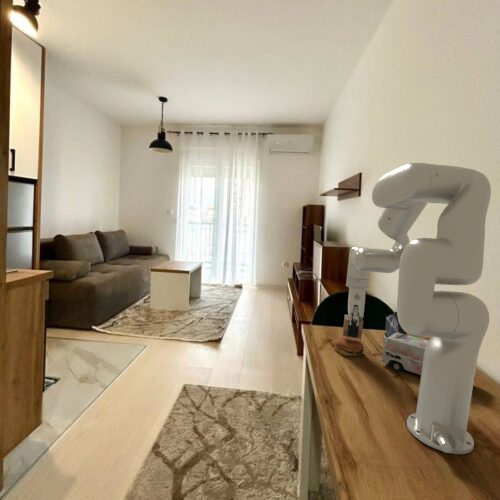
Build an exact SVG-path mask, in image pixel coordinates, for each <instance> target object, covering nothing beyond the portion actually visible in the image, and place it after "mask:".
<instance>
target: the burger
mask: <svg viewBox="0 0 500 500" xmlns="http://www.w3.org/2000/svg"><path fill="white" fill-rule="evenodd" d="M364 348H365V346H364V345H363V343H362V341H361V339H357V338H351V337H345V336H342V337H339V338H337V339H336V340H335V343H334V347H333V349H334V351H336V353H338V354H339V355H342V356H345V357H358V356H361V355H362V354H363V353H364V352H365V349H364Z"/></svg>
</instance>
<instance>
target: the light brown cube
mask: <svg viewBox="0 0 500 500" xmlns="http://www.w3.org/2000/svg"><path fill="white" fill-rule="evenodd" d="M363 318H364V317H363ZM363 318H361V317H360V316H359V321H358V326H359V327H358V336H357V338H356V337H350V336H348V326H349V324H350V316H349V315H348V314H344V319H343V327H342V328H343V329H342V337H349V338H354V339H358V340H362V336H363V328H364V327H363V326H364V319H363ZM352 319H353V318H352ZM351 322H352V321H351Z"/></svg>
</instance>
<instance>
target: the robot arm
mask: <svg viewBox="0 0 500 500" xmlns="http://www.w3.org/2000/svg"><path fill="white" fill-rule="evenodd" d="M371 194H372V195H371V199H372V203H373V204H374V205H375V206H376V207H378V208H380V209H381V208H384V209H383V212H382V213H381V216H379V218H378V220H377V221H378V222H377V226H378V228H379V230H380V231H381V232H382V234H384V235H385V236H386V237H388V238H390V239H391V240H394V241H395V242H394V243H393V245H392V247H391V248H390V249H386V248H385V249H384V248H369V247H361V246H353V247H351V248H350V250H349V255H348V264H347V273H346V283H345V286H346V287H347V288H348V298H347V311H348V312H347V313H348V314H347V315H349V316H350V324H349V326H348V336H350V337H349V338H351V337H356V338H355V339H357V336H358V327H359V326H358V321H359V317H361V318H364V313H365V303H366V290H369V288H370V279H371V274H372V273H382V274H392V273H394V272H396V271H397V270H398V281H397V282H398V284H397V298H396V299H397V301H396V312H397V316H398V321H399V324H400V326H401V328H402V329H403V330H404V331H405V332H406V333H407V335H409V336H413V337H419V338H421V337H424V338H430V339H429V340H428V341H429V342H428V344H427V346H426V348H425V352H424V358H423V364H422V372H421V375H420V381H419V388H418V396H417V402H416V403H417V404H416V410H415V412H414V413H412V414H411V413H410V415H408V417H407V418H406V427H407V429H408V430H409V432H410V434H412V436H414V438H417V440H419V441H420V442H421V443H423V444H425V445H427V446H429V447H430V448H433V449H435V450H438V451H440V452H443V453H446V454H453V455H465V454H469V453H471V452H472V451H473V450H474V446H475V440H474V439H473V437H472V435H471V434H470V433H469V432H468V431H467V429H468V423H469V422H468V421H469V417H470V416H469V415H470V409H471V408H470V407H471V402H472V396H473V389H474V388H473V387H474V382H475V381H474V376H475V377H476V370H477V363H478V359H479V358H478V357H479V353H480V349H481V346H482V343H483V341H484V338H485V336H486V333H487V332H488V328H489V326H490V325H489V324H490V313H489V309H488V307H487V305H486V303H485V302H484V301H483V300H482V299H480V298H479V297H477V296H475V295H473V294H470V293H467V292H461V291H448V290H435V286H436V285H442V286H443V285H444V286H469V285H473V284H475V283H477V282H478V281H479V280H480V278H481V276H482V273H483V269H484V255H485V240H486V239H485V236H486V218H487V213H488V208H489V204H490V201H491V195H492V187H491V183H490V180H489V179H488V177H487V176H486V175H485V174H484V173H483V172H481V171H479V170H476V169H473V168H472V169H471V168H468V167H461V166H456V165H455V166H453V165H446V164H445V165H444V164H436V163H434V164H433V163H426V162H410V163H407V164H404V165H402V166H400V167H397V168H395V169H394V170H391V171H389V172H387V173H386V174H384V175H382V176H381V177H380V178H379V179H378V180H377V182H376V183H375V185H374V187H373V189H372V192H371ZM429 203H430V204H443V205H446V207H445V208H444V209H443V210H442V211H441V214H440V215H439V217H438V220H437V225H436V227H437V228H436V229H437V231H436V237H435V238H433V237H420V238H416V239H413V240H411V241H410V238H409V236H408V232H409V231H410V230H411V228H412V227H413V225H414V223H416V221H417V220H418V218H419V216H420V215H421V214H422V212H423V210H424V209H425V207H426V206H427V205H428V204H429ZM352 318H353V319H352ZM351 321H352V322H351Z"/></svg>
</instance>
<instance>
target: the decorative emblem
mask: <svg viewBox="0 0 500 500" xmlns="http://www.w3.org/2000/svg"><path fill="white" fill-rule="evenodd" d="M384 327H385V332H384V333H383V340H382V341H383V344H385V343H386V340H387V338H388V337H390V336H391V335H393V334H395V333H401V334H405V335H408V333H406V332H405V331H404V330H403V329H402V328H401V326H400V324H399V321H398V316H397V311H394V312H393V313H391V314H389V315H386V316H385V326H384Z"/></svg>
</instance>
